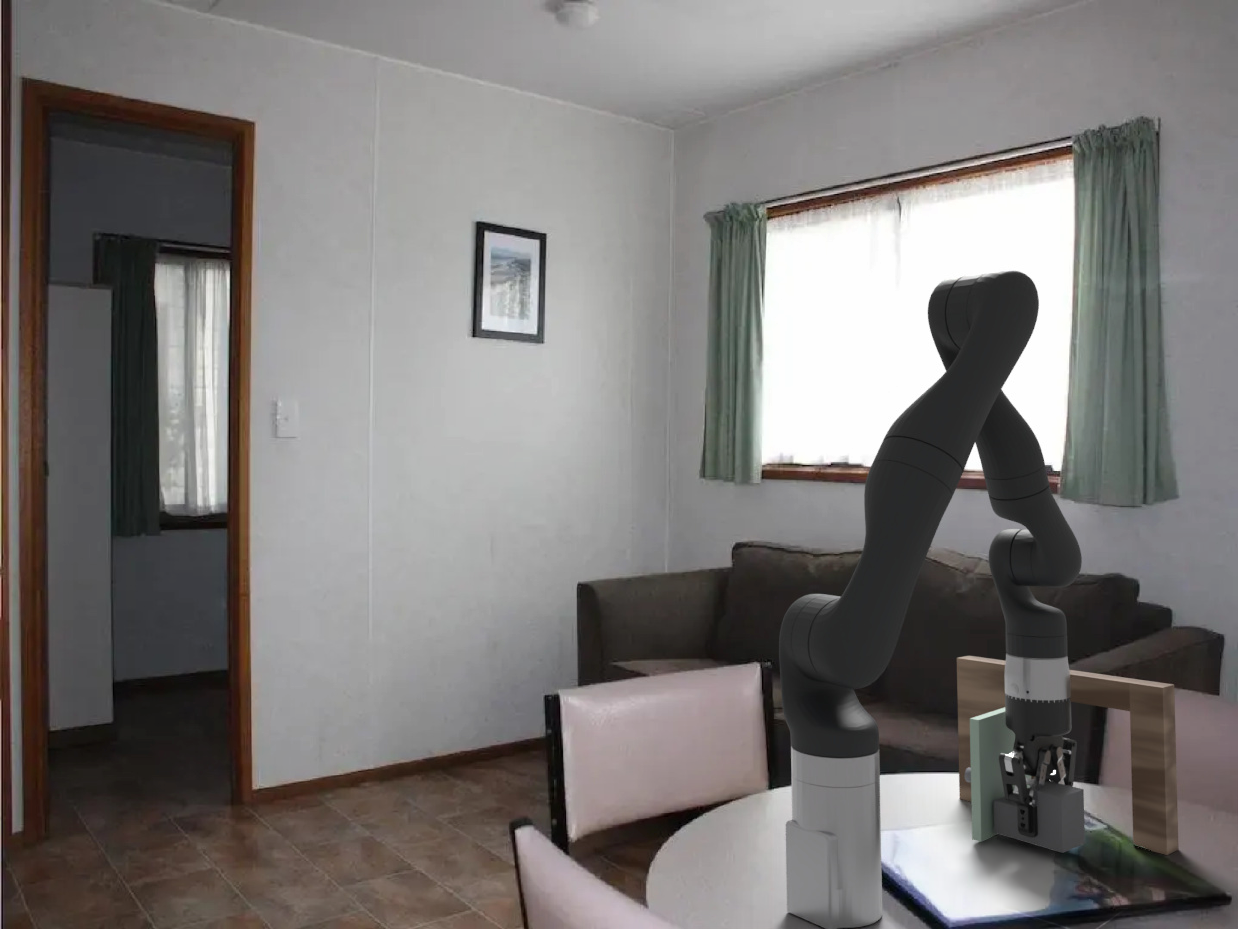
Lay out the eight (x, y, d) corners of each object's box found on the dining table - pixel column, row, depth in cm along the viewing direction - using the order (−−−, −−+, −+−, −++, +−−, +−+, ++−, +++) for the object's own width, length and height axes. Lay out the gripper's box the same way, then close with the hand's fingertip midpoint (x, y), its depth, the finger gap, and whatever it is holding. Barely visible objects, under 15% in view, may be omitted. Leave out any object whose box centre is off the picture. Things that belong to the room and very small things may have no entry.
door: (963, 837, 127) (960, 717, 127) (1014, 813, 136) (1012, 700, 136) (981, 842, 125) (978, 720, 125) (1032, 817, 134) (1029, 703, 134)
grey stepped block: (1062, 853, 119) (1061, 797, 119) (994, 832, 126) (992, 780, 126) (1084, 843, 122) (1083, 789, 122) (1016, 824, 129) (1015, 773, 129)
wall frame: (1167, 855, 121) (1162, 687, 121) (959, 798, 144) (956, 657, 144) (1178, 849, 123) (1174, 684, 123) (971, 794, 146) (969, 655, 146)
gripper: (1033, 704, 117) (1037, 852, 116) (1097, 688, 126) (1100, 826, 125) (976, 694, 123) (979, 835, 122) (1040, 679, 132) (1043, 811, 131)
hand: (1040, 830), depth 124 cm, fingers closed on grey stepped block, 5 cm apart
